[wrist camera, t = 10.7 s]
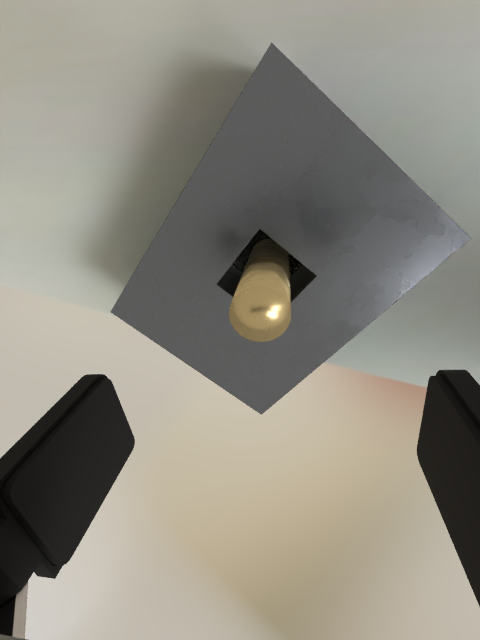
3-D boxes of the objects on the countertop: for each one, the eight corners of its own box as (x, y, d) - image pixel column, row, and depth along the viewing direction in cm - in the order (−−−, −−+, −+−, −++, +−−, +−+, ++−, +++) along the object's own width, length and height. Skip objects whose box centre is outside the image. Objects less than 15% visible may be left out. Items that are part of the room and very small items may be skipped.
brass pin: (297, 255, 23) (304, 312, 14) (272, 283, 24) (264, 352, 15) (266, 230, 22) (253, 273, 14) (242, 261, 24) (217, 318, 15)
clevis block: (431, 222, 21) (471, 238, 16) (265, 375, 29) (261, 414, 24) (275, 72, 18) (271, 42, 14) (140, 286, 26) (110, 311, 22)
